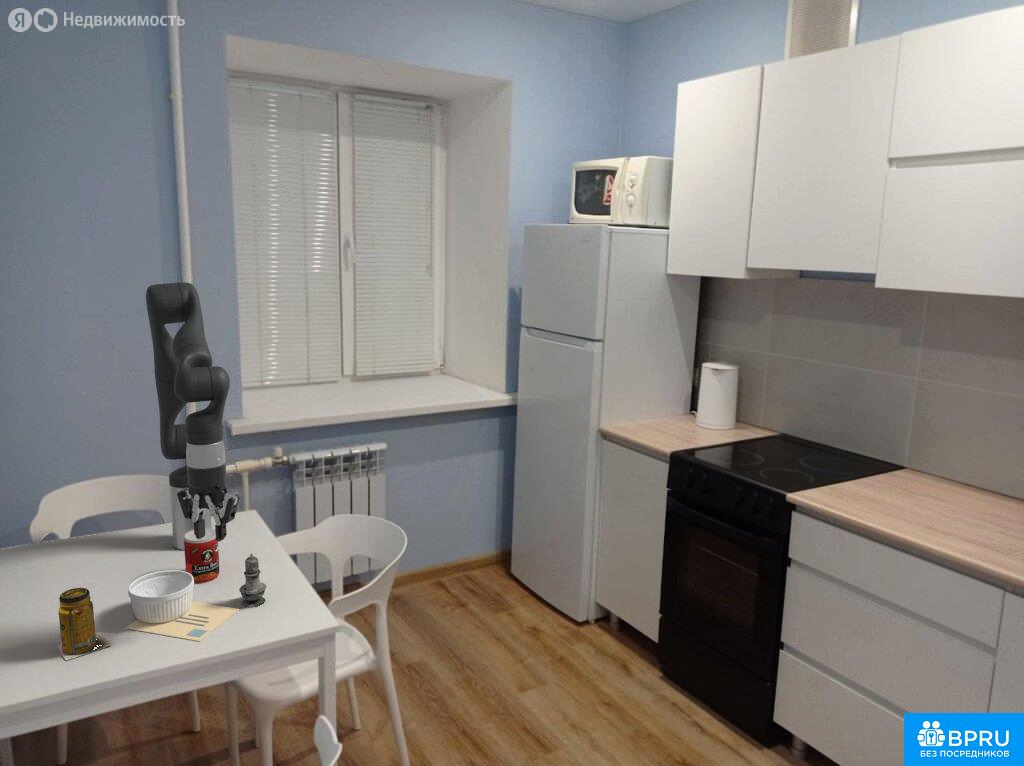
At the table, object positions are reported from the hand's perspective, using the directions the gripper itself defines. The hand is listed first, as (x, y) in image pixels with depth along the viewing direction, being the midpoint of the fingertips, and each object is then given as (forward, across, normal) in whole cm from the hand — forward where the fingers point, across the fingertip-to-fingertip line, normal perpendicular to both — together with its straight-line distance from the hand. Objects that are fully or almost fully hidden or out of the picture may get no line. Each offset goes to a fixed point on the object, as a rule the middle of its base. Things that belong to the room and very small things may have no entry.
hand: (210, 538), depth 160 cm
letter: (+19, +7, +1) cm, 21 cm away
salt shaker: (+19, -3, -10) cm, 22 cm away
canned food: (+19, +16, -18) cm, 31 cm away
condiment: (+20, +19, +16) cm, 32 cm away
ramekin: (+19, +13, 0) cm, 23 cm away
